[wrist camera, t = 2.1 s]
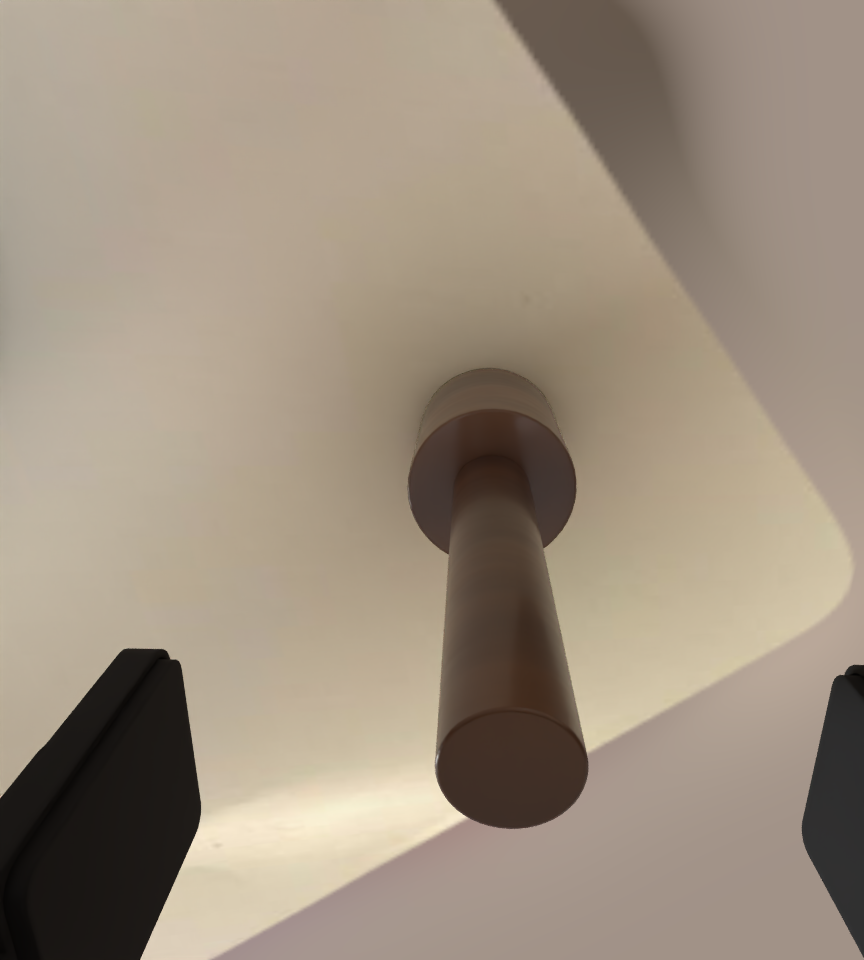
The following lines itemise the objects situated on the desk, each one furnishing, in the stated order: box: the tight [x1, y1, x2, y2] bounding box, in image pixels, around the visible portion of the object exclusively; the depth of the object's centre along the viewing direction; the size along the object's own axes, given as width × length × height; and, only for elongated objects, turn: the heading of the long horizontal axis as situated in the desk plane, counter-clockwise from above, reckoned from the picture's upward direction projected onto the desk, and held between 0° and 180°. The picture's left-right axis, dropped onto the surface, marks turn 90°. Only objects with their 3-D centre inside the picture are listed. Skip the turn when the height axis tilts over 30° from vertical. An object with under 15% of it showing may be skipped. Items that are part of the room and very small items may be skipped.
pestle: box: [408, 368, 588, 829], centre depth 16 cm, size 4×4×15 cm
